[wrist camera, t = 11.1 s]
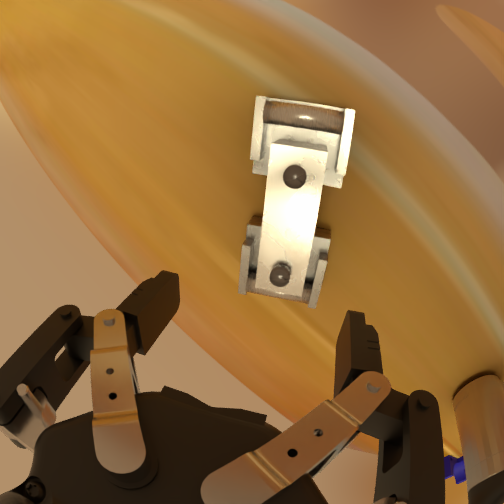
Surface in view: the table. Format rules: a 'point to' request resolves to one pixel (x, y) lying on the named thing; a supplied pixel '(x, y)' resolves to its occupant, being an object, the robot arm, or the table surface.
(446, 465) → the cable clip
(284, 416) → the table surface
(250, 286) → the chain ends
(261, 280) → the metal block with bolts
